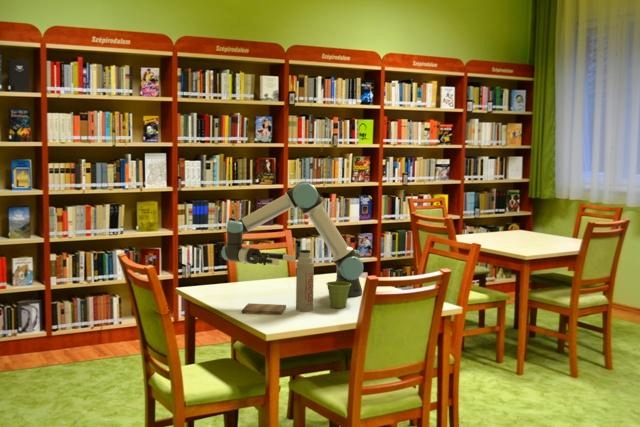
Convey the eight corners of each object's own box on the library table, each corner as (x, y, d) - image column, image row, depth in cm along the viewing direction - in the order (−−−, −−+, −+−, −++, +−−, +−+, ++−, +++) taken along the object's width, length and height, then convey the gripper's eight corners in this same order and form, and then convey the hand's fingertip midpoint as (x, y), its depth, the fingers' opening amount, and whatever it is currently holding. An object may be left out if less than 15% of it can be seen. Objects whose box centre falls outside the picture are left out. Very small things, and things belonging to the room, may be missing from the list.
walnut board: (286, 308, 353) (286, 304, 353) (281, 314, 339) (281, 311, 339) (248, 306, 355) (248, 303, 355) (241, 313, 341) (241, 309, 341)
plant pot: (342, 310, 349) (343, 287, 348) (321, 307, 355) (321, 284, 354) (355, 306, 359) (355, 283, 358) (334, 303, 365) (334, 280, 364)
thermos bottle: (316, 310, 348) (317, 250, 345) (300, 312, 344) (301, 251, 342) (308, 307, 355) (309, 248, 352) (293, 308, 351) (293, 249, 349)
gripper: (265, 260, 375) (300, 265, 364) (234, 266, 353) (271, 271, 342) (265, 245, 374) (301, 249, 363) (234, 250, 353) (271, 255, 342)
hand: (286, 260), depth 353 cm, fingers open, 13 cm apart
